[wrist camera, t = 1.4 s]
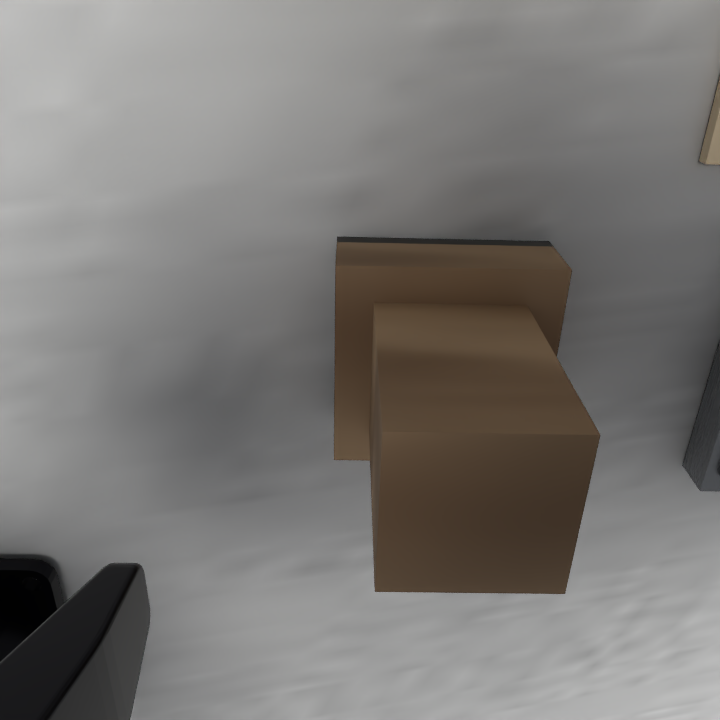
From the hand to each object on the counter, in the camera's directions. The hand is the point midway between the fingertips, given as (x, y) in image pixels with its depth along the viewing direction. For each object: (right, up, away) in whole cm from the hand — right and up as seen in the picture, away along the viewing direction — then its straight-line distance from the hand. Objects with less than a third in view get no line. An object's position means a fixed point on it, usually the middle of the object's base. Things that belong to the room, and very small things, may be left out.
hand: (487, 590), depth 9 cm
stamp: (0, +4, +7) cm, 8 cm away
